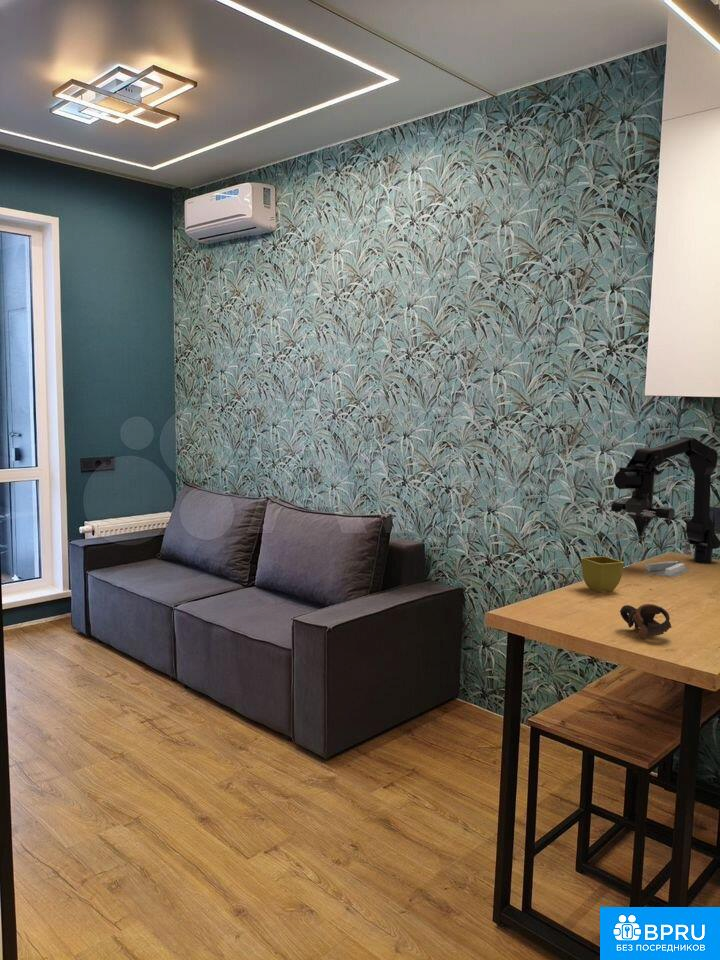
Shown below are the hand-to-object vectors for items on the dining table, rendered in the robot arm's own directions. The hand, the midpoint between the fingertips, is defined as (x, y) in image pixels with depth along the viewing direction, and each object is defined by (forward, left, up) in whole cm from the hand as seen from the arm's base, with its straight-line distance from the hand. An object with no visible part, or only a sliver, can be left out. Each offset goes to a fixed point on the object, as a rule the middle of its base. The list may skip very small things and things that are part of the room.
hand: (640, 536), depth 241 cm
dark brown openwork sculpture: (+63, +28, -12) cm, 69 cm away
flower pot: (+33, +3, -12) cm, 35 cm away
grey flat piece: (-3, +8, -11) cm, 14 cm away
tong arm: (-3, +7, -10) cm, 13 cm away
